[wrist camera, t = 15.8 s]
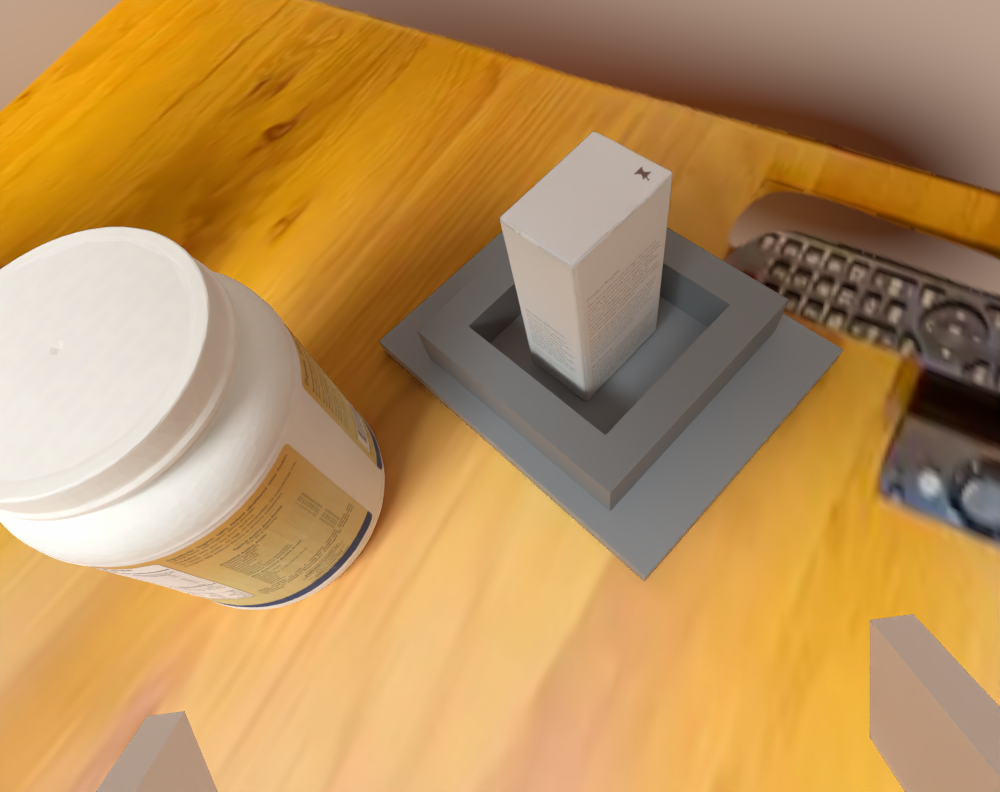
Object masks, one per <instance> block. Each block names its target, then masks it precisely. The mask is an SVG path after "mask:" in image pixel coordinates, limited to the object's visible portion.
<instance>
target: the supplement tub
mask: <svg viewBox="0 0 1000 792" xmlns="http://www.w3.org/2000/svg"><path fill="white" fill-rule="evenodd" d="M384 487H385V474H384V465H383V460H382V456H381V452H380V449H379V445H378V443H377V440H376V438H375V436H374V434H373V432H372V430H371V428H370V427H369V425H368V424H367V422H366V421H365V420H364V418H363V417H362V416H361V415H360V414H359V413H358V412H357V411H356V410H355V409H354V407H353V406H352V405H351V404H350V403H349V401H348V400H347V399H346V398H345V397H344V395H343V394H342V393H341V392H340V390H339V389H338V388H337V387H336V386H335V384H334V383H333V382H332V381H331V380H330V378H329V377H328V376H327V375H326V373H325V372H324V371H323V370H322V369H321V367H320V366H319V365H318V364H317V363H316V361H315V360H314V359H313V358H312V357H311V355H310V354H309V353H308V352H307V351H306V349H305V348H304V347H303V346H302V344H301V343H300V342H299V341H298V340H297V338H296V337H295V336H294V335H293V334H292V332H291V331H290V330H289V329H288V328H287V326H286V325H285V324H284V323H283V322H282V320H281V318H280V317H279V315H278V314H277V313H276V312H275V311H274V309H273V308H272V307H271V306H270V305H269V304H268V303H267V302H265V301H264V300H263V299H262V298H261V297H259V296H258V295H257V294H256V293H255V292H253V291H252V290H251V289H249V288H248V287H246V286H245V285H243V284H241V283H240V282H238V281H236V280H234V279H232V278H230V277H227V276H225V275H223V274H220V273H217V272H214V271H211V270H210V269H208V268H207V267H206V266H205V265H203V264H202V263H201V262H199V261H198V260H196V259H194V258H193V257H192V256H191V255H190V254H189V253H188V252H187V251H186V250H185V249H184V248H182V247H181V246H180V245H179V244H177V243H176V242H174V241H172V240H171V239H169V238H167V237H165V236H163V235H161V234H158V233H156V232H153V231H150V230H145V229H139V228H131V227H103V228H95V229H89V230H84V231H80V232H76V233H72V234H69V235H66V236H63V237H60V238H57V239H55V240H52V241H50V242H48V243H45V244H43V245H41V246H39V247H37V248H35V249H33V250H31V251H29V252H27V253H26V254H24V255H22V256H20V257H19V258H17V259H15V260H14V261H12V262H11V263H9V264H8V265H6V266H5V267H3V268H2V269H0V522H1V523H2V524H3V525H4V526H5V527H6V528H7V529H8V530H9V531H10V532H11V533H12V534H13V535H14V536H15V537H17V538H18V539H19V540H21V541H22V542H24V543H25V544H27V545H28V546H30V547H32V548H34V549H36V550H37V551H40V552H42V553H44V554H46V555H48V556H50V557H52V558H55V559H57V560H60V561H64V562H67V563H72V564H77V565H84V566H88V567H92V568H95V569H99V570H103V571H107V572H111V573H115V574H118V575H122V576H126V577H130V578H134V579H137V580H141V581H145V582H149V583H154V584H157V585H161V586H165V587H168V588H171V589H175V590H178V591H181V592H184V593H188V594H191V595H194V596H198V597H201V598H205V599H208V600H211V601H213V602H216V603H218V604H221V605H224V606H228V607H232V608H238V609H248V610H263V609H272V608H278V607H283V606H287V605H290V604H293V603H296V602H298V601H301V600H303V599H306V598H308V597H310V596H311V595H313V594H315V593H317V592H319V591H320V590H322V589H323V588H325V587H326V586H328V585H329V584H330V583H332V582H333V581H334V580H335V579H337V578H338V577H339V576H340V575H341V574H342V573H343V572H344V571H346V570H347V569H348V567H349V566H350V565H351V564H352V563H353V562H354V561H355V559H356V558H357V557H358V556H359V554H360V553H361V552H362V550H363V548H364V547H365V545H366V544H367V542H368V540H369V539H370V537H371V535H372V533H373V530H374V528H375V526H376V523H377V520H378V518H379V515H380V511H381V508H382V503H383V497H384Z"/></svg>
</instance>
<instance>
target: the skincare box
mask: <svg viewBox="0 0 1000 792" xmlns="http://www.w3.org/2000/svg"><path fill="white" fill-rule="evenodd" d="M672 175H673V174H672V172H671V171H670V170H668V169H666V168H664V167H662V166H660V165H658V164H656V163H654V162H652V161H650V160H648V159H647V158H645V157H643V156H641V155H639V154H637V153H635V152H633V151H632V150H630V149H628V148H626V147H624V146H622V145H620V144H619V143H617V142H615V141H613V140H611V139H609V138H607V137H605V136H603V135H601V134H599V133H597V132H592V133H591V134H590V135H589V136H588V137H586V138H585V139H584V140H583V141H582V142H581V143H580V144H579V145H578V146H577V147H576V148H575V149H574V150H572V151H571V152H570V153H569V154H568V155H567V156H566V157H565V158H564V159H563V160H562V161H560V162H559V163H558V164H557V165H556V166H555V167H554V168H553V169H552V170H551V171H550V172H549V173H547V174H546V175H545V176H544V177H543V178H542V179H541V180H540V181H539V182H538V183H537V184H536V185H535V186H534V187H532V188H531V189H530V190H529V191H528V192H527V193H526V194H525V195H524V196H523V197H521V198H520V199H519V200H518V201H517V202H516V203H515V204H514V205H513V206H512V207H511V208H509V209H508V210H507V211H506V212H505V213H504V214H503V215H501V217H500V223H501V227H502V231H503V236H504V240H505V244H506V248H507V253H508V257H509V261H510V266H511V270H512V274H513V278H514V283H515V287H516V291H517V295H518V300H519V304H520V309H521V313H522V317H523V321H524V326H525V330H526V334H527V339H528V343H529V347H530V351H531V356H532V359H533V361H534V362H535V363H536V364H537V365H539V366H540V367H542V368H543V369H544V370H546V371H547V372H548V373H550V374H551V375H552V376H554V377H555V378H556V379H557V380H559V381H560V382H561V383H562V384H564V385H565V386H566V387H568V388H569V389H570V390H571V391H573V392H574V393H575V394H576V395H578V396H579V397H580V398H582V399H583V400H584V401H588V400H589V399H590V398H591V397H592V396H593V395H594V394H595V393H596V392H597V391H598V390H599V389H600V388H601V386H602V385H603V384H604V383H605V382H606V381H607V380H608V379H609V378H610V377H611V376H612V375H613V374H614V373H615V372H616V371H617V370H618V369H619V368H620V367H621V366H622V365H623V364H624V363H625V362H626V360H627V359H628V358H629V357H630V356H631V355H632V354H633V353H634V352H635V351H636V350H637V349H638V348H639V347H640V346H641V345H642V344H643V343H644V342H645V341H646V340H647V339H648V338H649V337H650V336H651V335H652V334H653V333H654V331H655V330H656V324H657V316H658V306H659V297H660V287H661V277H662V268H663V259H664V250H665V241H666V231H667V222H668V214H669V205H670V195H671V186H672Z"/></svg>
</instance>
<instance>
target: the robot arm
mask: <svg viewBox="0 0 1000 792" xmlns="http://www.w3.org/2000/svg"><path fill="white" fill-rule="evenodd" d="M870 739H871V740H872V742H873V743H874V745H875V746H876V748H877V749H878V751H879V752H880V754H881V755H882V757H883V759H884V760H885V762H886V763H887V765H888V766H889V768H890V769H891V771H892V772H893V774H894V776H895V777H896V779H897V780H898V782H899V783H900V785H901V786H902V788H903V789H904V791H905V792H1000V707H999V705H998V704H997V703H996V702H995V701H994V700H993V699H992V698H991V697H990V696H989V695H988V694H987V693H986V692H985V691H984V689H983V688H982V687H981V686H980V685H979V684H978V683H977V682H976V681H975V680H974V679H973V678H972V677H971V676H970V674H969V673H968V672H967V671H966V670H965V669H964V668H963V667H962V666H961V665H960V664H959V663H958V662H957V661H956V660H955V658H954V657H953V656H952V655H951V654H950V653H949V652H948V651H947V650H946V649H945V648H944V647H943V646H942V645H941V643H940V642H939V641H938V640H937V639H936V638H935V637H934V636H933V635H932V634H931V633H930V632H929V631H928V630H927V628H926V627H925V626H924V625H923V624H922V623H921V622H920V621H919V620H918V619H917V618H916V617H915V616H914V615H913V614H912V615H904V616H897V617H889V618H882V619H874V620H870ZM96 792H217V789H216V787H215V784H214V782H213V779H212V777H211V775H210V772H209V770H208V767H207V765H206V762H205V760H204V758H203V755H202V753H201V750H200V748H199V745H198V743H197V741H196V738H195V736H194V733H193V731H192V728H191V726H190V724H189V721H188V719H187V716H186V714H185V711H183V712H175V713H168V714H160V715H153V716H147V718H146V719H145V721H144V722H143V724H142V725H141V726H140V728H139V729H138V731H137V732H136V734H135V735H134V737H133V738H132V740H131V741H130V743H129V744H128V746H127V747H126V748H125V750H124V751H123V753H122V754H121V756H120V757H119V759H118V760H117V762H116V763H115V765H114V766H113V768H112V769H111V771H110V772H109V773H108V775H107V776H106V778H105V779H104V781H103V782H102V784H101V785H100V787H99V788H98V790H97V791H96Z"/></svg>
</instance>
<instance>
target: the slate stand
mask: <svg viewBox="0 0 1000 792" xmlns="http://www.w3.org/2000/svg"><path fill="white" fill-rule="evenodd" d="M787 303H788V299H787V298H785V297H783V296H782V295H780V294H778V293H776V292H775V291H773V290H771V289H770V288H768V287H766V286H765V285H763V284H761V283H760V282H758V281H756V280H755V279H753V278H751V277H750V276H748V275H746V274H744V273H743V272H741V271H739V270H738V269H736V268H734V267H733V266H731V265H729V264H728V263H726V262H724V261H723V260H721V259H719V258H718V257H716V256H714V255H713V254H711V253H709V252H707V251H706V250H704V249H702V248H701V247H699V246H697V245H696V244H694V243H692V242H691V241H689V240H687V239H686V238H684V237H682V236H681V235H679V234H677V233H676V232H674V231H672V230H670V229H669V228H667V231H666V241H665V250H664V259H663V268H662V277H661V287H660V297H659V306H658V316H657V324H656V330H655V331H654V333H653V334H652V335H651V336H650V337H649V338H648V339H647V340H646V341H645V342H644V343H643V344H642V345H641V346H640V347H639V348H638V349H637V350H636V351H635V352H634V353H633V354H632V355H631V356H630V357H629V358H628V359H627V360H626V362H625V363H624V364H623V365H622V366H621V367H620V368H619V369H618V370H617V371H616V372H615V373H614V374H613V375H612V376H611V377H610V378H609V379H608V380H607V381H606V382H605V383H604V384H603V385H602V386H601V388H600V389H599V390H598V391H597V392H596V393H595V394H594V395H593V396H592V397H591V398H590V399H589V400H588V401H584V400H583V399H582V398H580V397H579V396H578V395H576V394H575V393H574V392H573V391H571V390H570V389H569V388H568V387H566V386H565V385H564V384H562V383H561V382H560V381H559V380H557V379H556V378H555V377H554V376H552V375H551V374H550V373H548V372H547V371H546V370H544V369H543V368H542V367H540V366H539V365H537V364H536V363H535V362H534V361H533V359H532V356H531V351H530V347H529V343H528V339H527V334H526V330H525V326H524V321H523V317H522V313H521V309H520V304H519V300H518V295H517V291H516V287H515V283H514V278H513V274H512V270H511V266H510V261H509V257H508V253H507V248H506V244H505V240H504V236H503V231H502V232H501V233H500V234H498V235H497V236H496V237H495V238H494V239H493V240H492V241H491V242H489V243H488V244H487V245H486V246H485V247H484V248H483V249H482V250H481V251H479V252H478V253H477V254H476V255H475V256H474V257H473V258H472V259H470V260H469V261H468V262H467V263H466V264H465V265H464V266H463V267H462V268H460V269H459V270H458V271H457V272H456V273H455V274H454V275H453V276H451V277H450V278H449V279H448V280H447V281H446V282H445V283H444V284H442V285H441V286H440V287H439V288H438V289H437V290H436V291H435V292H434V293H432V294H431V295H430V296H429V297H428V298H427V299H426V300H425V301H423V302H422V303H421V304H420V305H419V306H418V307H417V308H416V309H415V310H413V311H412V312H411V313H410V314H409V315H408V316H407V317H406V318H404V319H403V320H402V321H401V322H400V323H399V324H398V325H397V326H395V327H394V328H393V329H392V330H391V331H390V332H389V333H388V334H387V335H385V336H384V337H383V338H382V339H381V340H380V341H379V342H380V344H381V345H382V347H383V349H384V350H385V352H386V353H387V354H389V355H390V356H391V357H392V358H393V359H394V360H395V361H397V362H398V363H399V364H400V365H401V366H402V367H403V368H404V369H406V370H407V371H408V372H409V373H410V374H411V375H412V376H413V377H415V378H416V379H417V380H418V381H419V382H420V383H421V384H422V385H424V386H425V387H426V388H427V389H428V390H429V391H430V392H431V393H433V394H434V395H435V396H436V397H437V398H438V399H439V400H440V401H442V402H443V403H444V404H445V405H446V406H447V407H448V408H450V409H451V410H452V411H453V412H454V413H455V414H456V415H457V416H459V417H460V418H461V419H462V420H463V421H464V422H465V423H466V424H468V425H469V426H470V427H471V428H472V429H473V430H474V431H475V432H477V433H478V434H479V435H480V436H481V437H482V438H483V439H484V440H486V441H487V442H488V443H489V444H490V445H491V446H492V447H493V448H495V449H496V450H497V451H498V452H499V453H500V454H501V455H502V456H504V457H505V458H506V459H507V460H508V461H509V462H510V463H512V464H513V465H514V466H515V467H516V468H517V469H518V470H519V471H521V472H522V473H523V474H524V475H525V476H526V477H527V478H528V479H530V480H531V481H532V482H533V483H534V484H535V485H536V486H537V487H539V488H540V489H541V490H542V491H543V492H544V493H545V494H546V495H548V496H549V497H550V498H551V499H552V500H553V501H554V502H555V503H557V504H558V505H559V506H560V507H561V508H562V509H563V510H564V511H566V512H567V513H568V514H569V515H570V516H571V517H572V518H574V519H575V520H576V521H577V522H578V523H579V524H580V525H581V526H583V527H584V528H585V529H586V530H587V531H588V532H589V533H590V534H592V535H593V536H594V537H595V538H596V539H597V540H598V541H599V542H601V543H602V544H603V545H604V546H605V547H606V548H607V549H608V550H610V551H611V552H612V553H613V554H614V555H615V556H616V557H617V558H619V559H620V560H621V561H622V562H623V563H624V564H625V565H627V566H628V567H629V568H630V569H631V570H632V571H633V572H634V573H636V574H637V575H638V576H639V577H640V578H641V579H642V580H643V581H645V580H646V579H647V578H648V577H649V575H650V574H651V573H652V572H653V571H654V570H655V569H656V567H657V566H658V565H659V564H660V563H661V562H662V560H663V559H664V558H665V557H666V556H667V555H668V554H669V552H670V551H671V550H672V549H673V548H674V547H675V546H676V544H677V543H678V542H679V541H680V540H681V539H682V537H683V536H684V535H685V534H686V533H687V532H688V531H689V529H690V528H691V527H692V526H693V525H694V524H695V523H696V521H697V520H698V519H699V518H700V517H701V516H702V514H703V513H704V512H705V511H706V510H707V509H708V508H709V506H710V505H711V504H712V503H713V502H714V501H715V500H716V498H717V497H718V496H719V495H720V494H721V493H722V492H723V490H724V489H725V488H726V487H727V486H728V485H729V483H730V482H731V481H732V480H733V479H734V478H735V477H736V475H737V474H738V473H739V472H740V471H741V470H742V469H743V467H744V466H745V465H746V464H747V463H748V462H749V460H750V459H751V458H752V457H753V456H754V455H755V454H756V452H757V451H758V450H759V449H760V448H761V447H762V446H763V444H764V443H765V442H766V441H767V440H768V439H769V437H770V436H771V435H772V434H773V433H774V432H775V431H776V429H777V428H778V427H779V426H780V425H781V424H782V423H783V421H784V420H785V419H786V418H787V417H788V416H789V415H790V413H791V412H792V411H793V410H794V409H795V408H796V406H797V405H798V404H799V403H800V402H801V401H802V400H803V398H804V397H805V396H806V395H807V394H808V393H809V392H810V390H811V389H812V388H813V387H814V386H815V385H816V383H817V382H818V381H819V380H820V379H821V378H822V377H823V375H824V374H825V373H826V372H827V371H828V370H829V369H830V367H831V366H832V365H833V364H834V363H835V362H836V360H837V359H838V357H839V356H840V354H841V353H842V351H843V349H841V348H840V347H838V346H836V345H835V344H833V343H831V342H830V341H828V340H827V339H825V338H823V337H822V336H820V335H818V334H817V333H815V332H813V331H812V330H810V329H808V328H807V327H805V326H803V325H802V324H800V323H798V322H797V321H795V320H794V319H792V318H790V317H789V316H787V315H785V314H784V313H783V312H784V309H785V307H786V305H787Z"/></svg>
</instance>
